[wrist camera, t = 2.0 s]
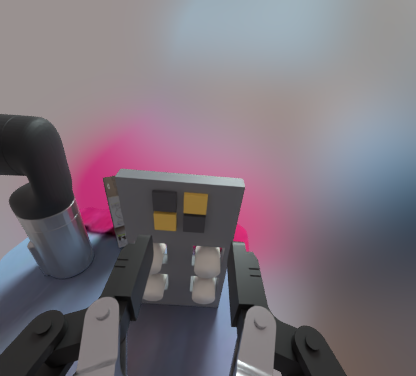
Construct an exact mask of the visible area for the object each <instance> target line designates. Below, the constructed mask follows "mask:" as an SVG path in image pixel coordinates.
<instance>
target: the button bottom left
mask: <svg viewBox="0 0 416 376" xmlns="http://www.w3.org/2000/svg"><path fill="white" fill-rule="evenodd" d="M166 278H167V274H153V275H149V277H148V280H147V284H146V288H145V291H144V295H143V299H145V300H148V301H158V300H161V299H162V298H163V293H164V288H165V283H166Z"/></svg>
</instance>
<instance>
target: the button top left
mask: <svg viewBox="0 0 416 376" xmlns="http://www.w3.org/2000/svg"><path fill="white" fill-rule="evenodd" d="M153 249H154V257H153V262H152V266H151V270H150V273H149V275H153V274H156V273H158V272H159V271H160V270H161V266H162V262H163V257H164V253H165V249H166V245H165V244H164V243H153Z"/></svg>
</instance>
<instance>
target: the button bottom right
mask: <svg viewBox="0 0 416 376" xmlns="http://www.w3.org/2000/svg"><path fill="white" fill-rule="evenodd" d="M192 300H193V301H194V302H196V303H198V304H210V303H212V302H213V301H214V300H215V277H214V278H201V277H199V276H194V278H193V290H192Z"/></svg>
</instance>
